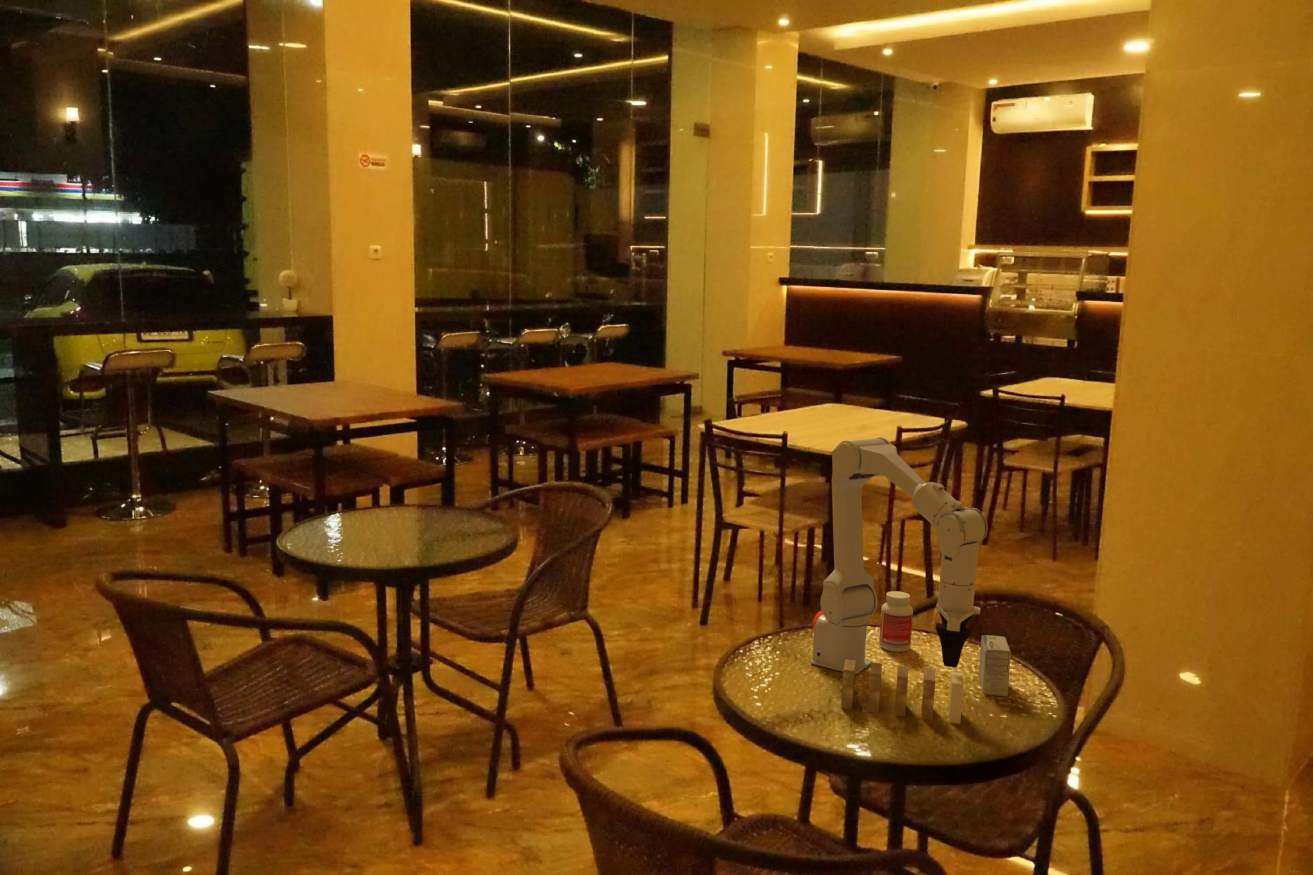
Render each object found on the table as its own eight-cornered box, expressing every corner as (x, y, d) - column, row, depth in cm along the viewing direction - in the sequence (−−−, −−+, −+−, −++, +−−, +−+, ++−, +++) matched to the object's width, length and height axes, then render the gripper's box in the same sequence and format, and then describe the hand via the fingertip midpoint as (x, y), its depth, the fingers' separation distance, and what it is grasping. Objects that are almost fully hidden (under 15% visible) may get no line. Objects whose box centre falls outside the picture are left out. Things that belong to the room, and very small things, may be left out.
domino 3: (894, 714, 177) (897, 676, 176) (895, 703, 182) (897, 665, 181) (905, 716, 177) (908, 677, 176) (905, 704, 182) (908, 666, 180)
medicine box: (1007, 697, 186) (1012, 651, 184) (981, 694, 187) (985, 648, 185) (1002, 680, 193) (1006, 636, 192) (977, 677, 194) (981, 633, 193)
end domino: (949, 722, 175) (952, 682, 174) (948, 709, 180) (951, 671, 179) (960, 723, 175) (963, 684, 173) (959, 711, 179) (962, 672, 178)
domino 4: (921, 718, 176) (924, 679, 175) (921, 706, 181) (924, 668, 180) (932, 719, 176) (935, 680, 174) (932, 707, 180) (935, 669, 179)
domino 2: (867, 711, 178) (870, 672, 177) (869, 699, 183) (871, 662, 182) (878, 712, 178) (880, 674, 177) (879, 701, 183) (882, 663, 181)
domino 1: (840, 707, 179) (843, 669, 178) (843, 696, 184) (845, 659, 183) (851, 709, 179) (854, 670, 178) (853, 697, 184) (855, 660, 183)
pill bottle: (915, 651, 206) (919, 598, 205) (887, 653, 205) (891, 600, 203) (901, 640, 212) (905, 588, 211) (873, 642, 211) (877, 590, 209)
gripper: (982, 596, 165) (975, 677, 168) (982, 571, 179) (976, 646, 181) (936, 591, 168) (930, 670, 170) (940, 566, 181) (934, 640, 183)
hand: (951, 657), depth 176 cm, fingers open, 7 cm apart
